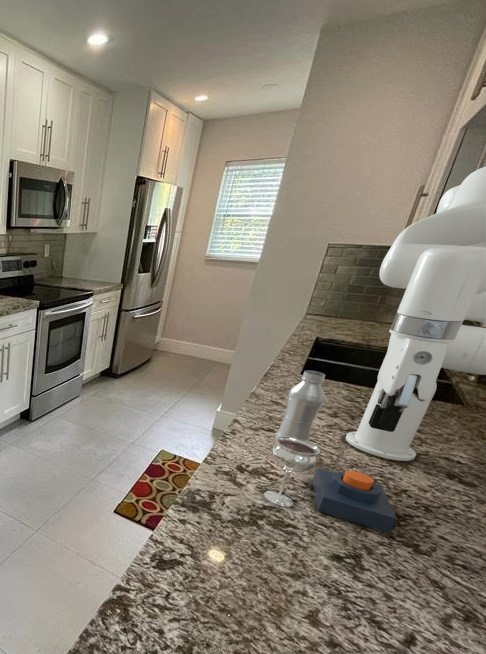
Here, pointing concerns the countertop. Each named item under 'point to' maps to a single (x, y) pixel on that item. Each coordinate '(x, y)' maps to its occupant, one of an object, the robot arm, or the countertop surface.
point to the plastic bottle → (302, 406)
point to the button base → (352, 501)
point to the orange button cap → (358, 480)
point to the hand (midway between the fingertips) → (380, 427)
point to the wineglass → (291, 463)
